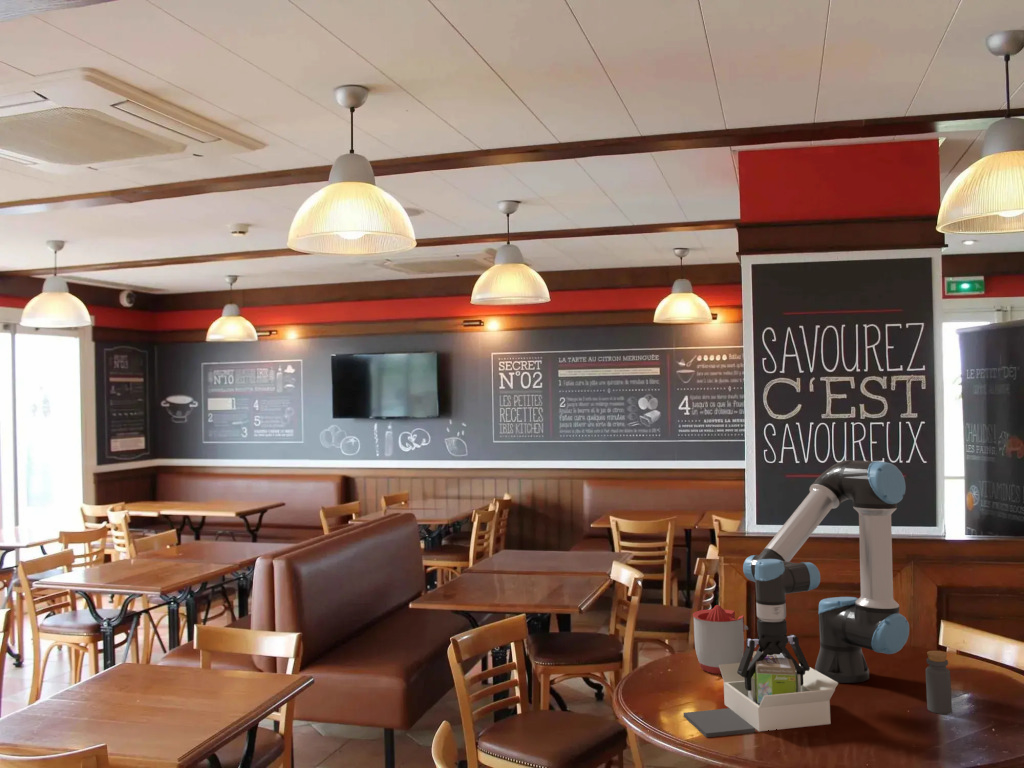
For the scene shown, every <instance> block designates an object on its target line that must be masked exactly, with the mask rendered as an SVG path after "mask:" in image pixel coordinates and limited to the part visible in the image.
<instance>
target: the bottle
mask: <svg viewBox="0 0 1024 768" xmlns="http://www.w3.org/2000/svg"><path fill="white" fill-rule="evenodd" d="M926 654H927V658H926V664H928V666H927V667H926V668H925V685H926V686H925V687H926V689H925V690H926V704H927V705H926V706H927V707H926V708H927V710H928V711H929V712H931V713H934V714H939V715H949V714H951V713H953V704H952V703H953V702H952V701H953V699H952V685H951V684H952V683H951V682H952V681H951V670H950V669H949V668H947V666H948V665H949V661H948V659H947V656H948V654H947V652H944V651H941V650H928V651H927V652H926Z"/></svg>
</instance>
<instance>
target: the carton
mask: <svg viewBox="0 0 1024 768" xmlns="http://www.w3.org/2000/svg"><path fill="white" fill-rule="evenodd" d="M798 664H799V665H800V663H798ZM739 665H740V663H733V664H722V665H719V668H720V671H721V674H720V675H721V676H722V680H723V697H724V703H723V704H724V706H726V707H727V708H730V709H731V710H732V711H734V712H735V713H736V714H737V715H739V716H740V717H741V718H743V719H744V720H745V721H746V722H748V723H749V724H750V725H751V726H753V727H754V728H755V730H756V731H757V732H766V731H768V730H769V731H775V730H776V729H777V730H785V729H795V728H804V727H815V726H824V725H825V726H826V725H831V703H830V700H831V698H832V696H833V694H834V693H835V691H836V687H837V686H838V685H839V682H836V681H834V680H832V679H831V678H829V677H827V676H825V675H823V674H821V673H820V672H818V671H816V670H815V668H812V667H810V666H809V667H810V670H809V671H805V674H804V675H803V686H801V692H795V693H785V694H775V695H765V696H764V697H763V699H762V701H761V703H760V705H758V704H756V703H755V702H753V701H752V700H751V699H749V698H748V690H746V688H745V678H744V677H742V676H740V675H739V674H738V673H737V671H738V668H739ZM800 666H801V665H800ZM752 677H753V676H752Z"/></svg>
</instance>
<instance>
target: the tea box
mask: <svg viewBox="0 0 1024 768" xmlns="http://www.w3.org/2000/svg"><path fill="white" fill-rule="evenodd" d="M756 651H757V650H754V653H753V656H752V659H753V658H754V656H755V655H756ZM762 652H763V651H762ZM753 678H754V679H755V697H756V704H758V705H760V703H761V701H762V699H763V697H764V696H765V695H775V694H785V693H795V692H796V670H795V666H794V664H793V661H792V659H788V658H786V657H784V656H783V654H782V653H780V654H778V655H777V654H773V655H767V656H766V657H765V658H764V659H763V661H756V667H755V673H754V675H753Z"/></svg>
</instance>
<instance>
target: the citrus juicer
mask: <svg viewBox="0 0 1024 768" xmlns="http://www.w3.org/2000/svg"><path fill="white" fill-rule="evenodd" d="M744 616H745V615H740V616H739V617H738V618H737V619H736V613H735V610H731V609H724V608H722V607H721V606H720V605H719V604H716V605H714V607H713V608H712V609H711V608H710V609H709V608H708V609H701V610H697V611H694V612H693V613H692V617H693V637H694V648H695V653H696V654H695V655H696V657H697V659H698V664H699V666H700V668H701V670H703V671H704V672H708V673H711V674H712V675H722V674H721V671H720V668H719V665H722V664H733V663H741V660H742V657H743V654H744V652H745V639H744V638H745V637H744V636H745V635H744V632H745V630H747V631H748V630H749V627H748V625H746V624H745V617H744Z"/></svg>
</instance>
